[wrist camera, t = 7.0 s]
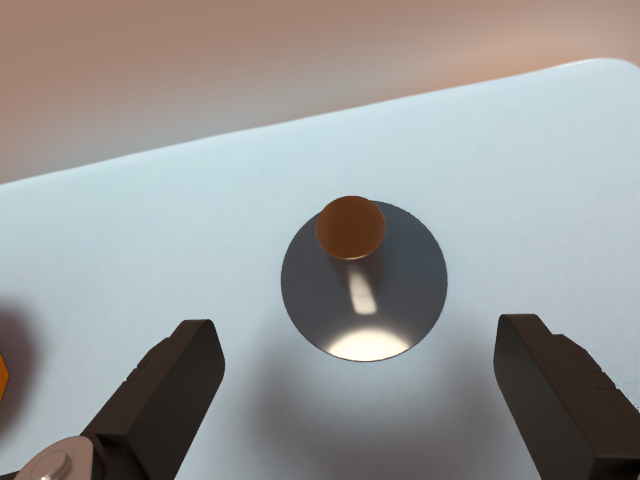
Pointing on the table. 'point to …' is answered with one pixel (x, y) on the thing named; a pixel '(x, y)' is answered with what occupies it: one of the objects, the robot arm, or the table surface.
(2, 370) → the potion bottle
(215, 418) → the table surface
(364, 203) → the lid
